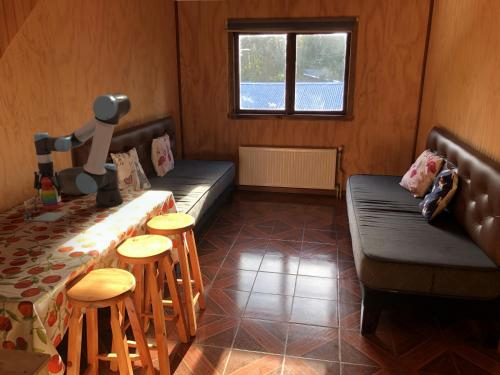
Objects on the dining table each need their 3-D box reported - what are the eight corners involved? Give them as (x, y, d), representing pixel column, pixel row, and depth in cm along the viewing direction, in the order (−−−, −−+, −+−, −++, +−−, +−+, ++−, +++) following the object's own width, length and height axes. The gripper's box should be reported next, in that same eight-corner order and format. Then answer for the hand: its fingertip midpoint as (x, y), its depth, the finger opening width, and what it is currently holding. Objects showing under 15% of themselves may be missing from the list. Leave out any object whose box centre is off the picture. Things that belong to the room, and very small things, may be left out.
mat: (67, 214, 224) (67, 213, 224) (53, 222, 213) (53, 221, 213) (47, 213, 227) (46, 212, 226) (32, 220, 215) (32, 219, 215)
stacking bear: (65, 204, 241) (61, 174, 236) (56, 210, 231) (51, 178, 227) (47, 204, 242) (43, 173, 237) (37, 209, 232) (32, 178, 228)
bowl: (88, 198, 253) (85, 173, 248) (52, 198, 252) (49, 174, 248) (99, 188, 273) (96, 165, 269) (67, 189, 272) (64, 166, 268)
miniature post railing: (48, 211, 229) (45, 196, 227) (29, 221, 215) (26, 205, 212) (35, 210, 231) (33, 195, 228) (15, 220, 216) (12, 204, 214)
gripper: (67, 160, 231) (72, 199, 237) (31, 159, 235) (37, 198, 241) (59, 163, 224) (64, 203, 230) (22, 162, 228) (28, 202, 234)
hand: (50, 201), depth 236 cm, fingers closed on stacking bear, 9 cm apart
